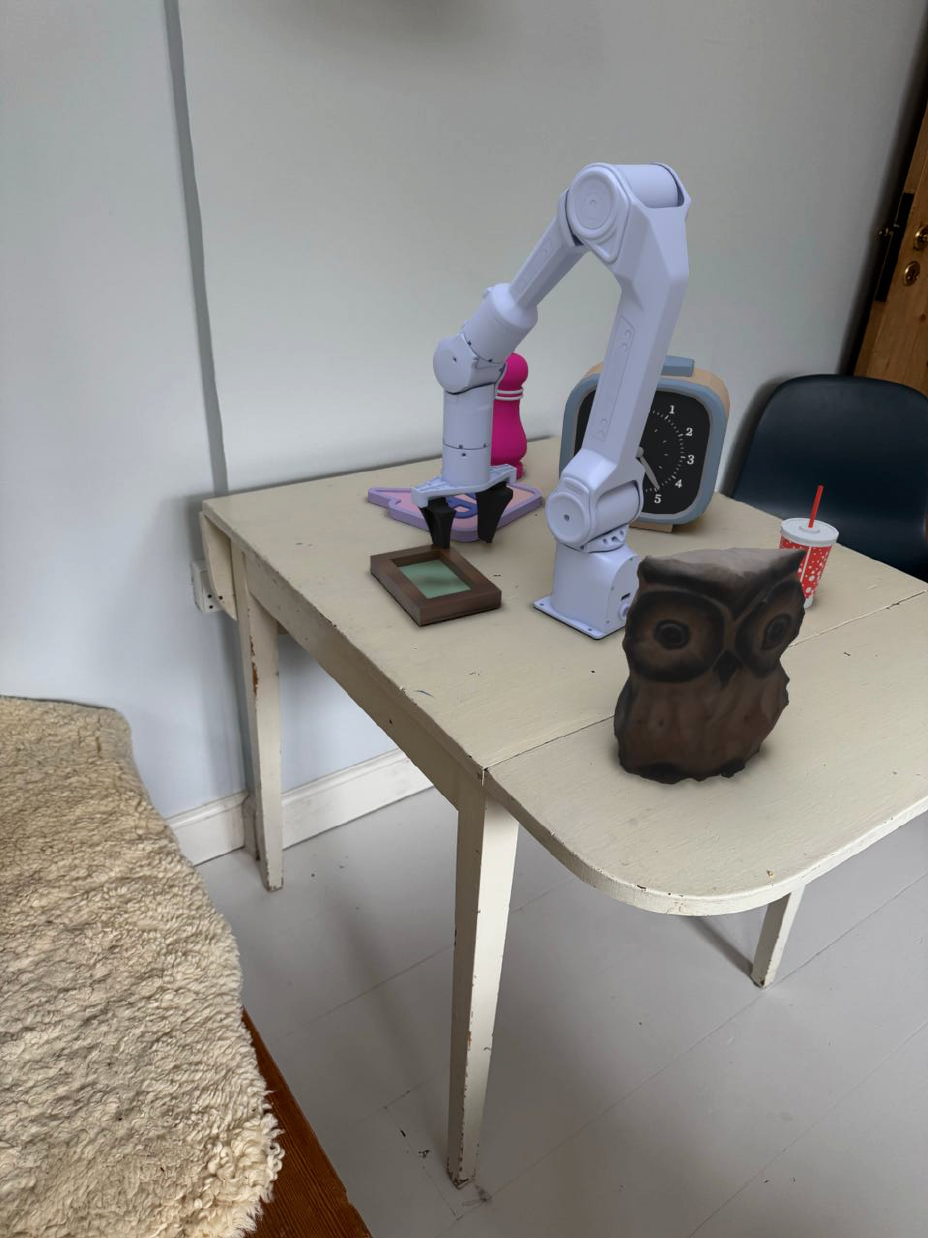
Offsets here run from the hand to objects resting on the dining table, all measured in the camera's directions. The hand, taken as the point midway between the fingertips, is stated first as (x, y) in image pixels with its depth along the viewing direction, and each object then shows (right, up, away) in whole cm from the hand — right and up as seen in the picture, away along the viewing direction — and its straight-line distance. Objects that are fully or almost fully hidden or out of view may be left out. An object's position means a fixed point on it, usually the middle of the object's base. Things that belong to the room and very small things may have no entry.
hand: (463, 547), depth 105 cm
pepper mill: (+6, +13, +26) cm, 29 cm away
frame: (-3, -6, -8) cm, 10 cm away
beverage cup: (+38, -7, -7) cm, 39 cm away
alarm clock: (+24, +5, +13) cm, 28 cm away
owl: (+19, -20, -30) cm, 41 cm away
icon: (-2, +7, +15) cm, 17 cm away
